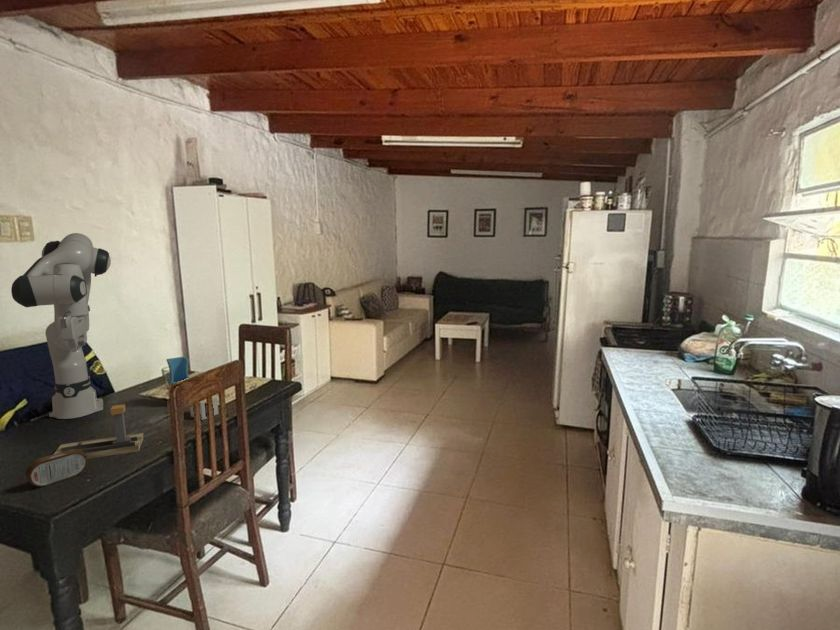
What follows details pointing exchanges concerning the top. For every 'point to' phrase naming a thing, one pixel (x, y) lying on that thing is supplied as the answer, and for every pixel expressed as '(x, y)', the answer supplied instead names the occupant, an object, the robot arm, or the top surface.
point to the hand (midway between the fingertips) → (78, 348)
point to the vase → (177, 369)
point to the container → (203, 408)
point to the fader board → (104, 446)
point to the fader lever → (119, 424)
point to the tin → (56, 467)
